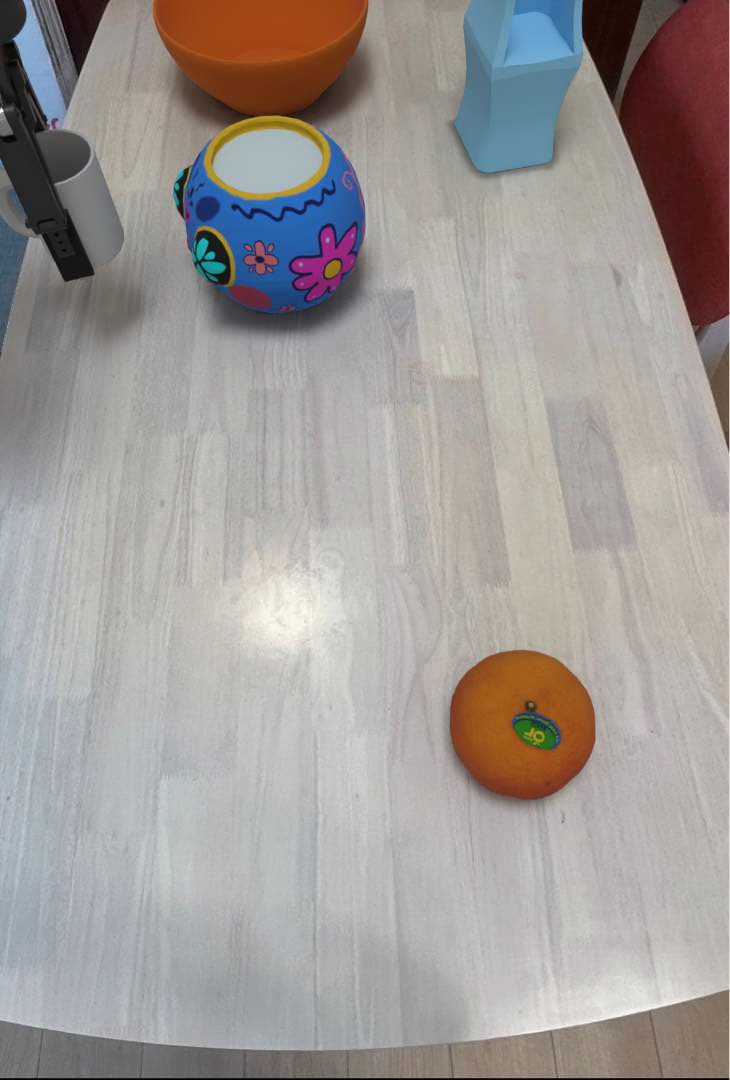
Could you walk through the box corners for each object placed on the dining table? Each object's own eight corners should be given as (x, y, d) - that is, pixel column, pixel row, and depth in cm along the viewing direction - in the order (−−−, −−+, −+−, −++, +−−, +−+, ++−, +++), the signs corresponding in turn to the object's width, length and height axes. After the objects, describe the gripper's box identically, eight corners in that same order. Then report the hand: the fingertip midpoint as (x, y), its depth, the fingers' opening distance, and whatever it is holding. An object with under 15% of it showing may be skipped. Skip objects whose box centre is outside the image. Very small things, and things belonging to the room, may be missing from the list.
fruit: (449, 662, 61) (458, 628, 54) (577, 675, 61) (604, 642, 54) (441, 798, 56) (451, 781, 49) (581, 813, 56) (611, 797, 49)
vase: (477, 175, 88) (512, -78, 66) (453, 123, 92) (478, -132, 70) (557, 161, 89) (618, -93, 66) (529, 110, 93) (578, -145, 71)
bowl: (387, 38, 100) (389, -48, 91) (342, 160, 89) (339, 75, 80) (209, 16, 103) (193, -70, 94) (144, 131, 92) (119, 47, 83)
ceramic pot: (185, 245, 83) (149, 116, 70) (339, 209, 86) (332, 77, 72) (222, 363, 76) (189, 243, 62) (388, 320, 78) (391, 195, 65)
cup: (122, 271, 68) (88, 185, 60) (11, 275, 68) (-37, 190, 60) (130, 215, 71) (99, 127, 63) (24, 220, 71) (-20, 131, 63)
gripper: (19, 39, 45) (131, 314, 65) (-8, -119, 54) (98, 167, 74) (-110, 63, 44) (44, 335, 64) (-116, -102, 53) (21, 183, 73)
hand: (73, 245), depth 69 cm, fingers closed on cup, 7 cm apart
